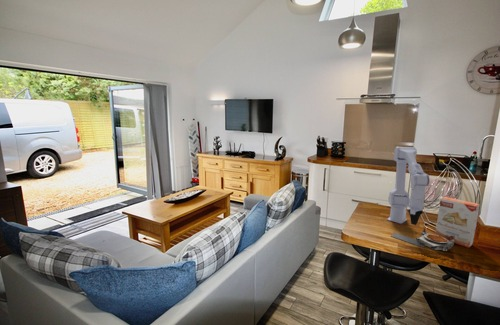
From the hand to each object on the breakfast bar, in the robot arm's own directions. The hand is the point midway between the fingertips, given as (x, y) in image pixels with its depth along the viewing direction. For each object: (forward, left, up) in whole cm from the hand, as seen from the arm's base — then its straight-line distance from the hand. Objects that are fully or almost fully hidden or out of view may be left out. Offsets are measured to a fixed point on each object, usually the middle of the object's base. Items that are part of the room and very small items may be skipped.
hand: (413, 224), depth 125 cm
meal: (-3, +2, -6) cm, 7 cm away
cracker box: (-14, +14, -8) cm, 21 cm away
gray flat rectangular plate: (+3, -1, -8) cm, 8 cm away
